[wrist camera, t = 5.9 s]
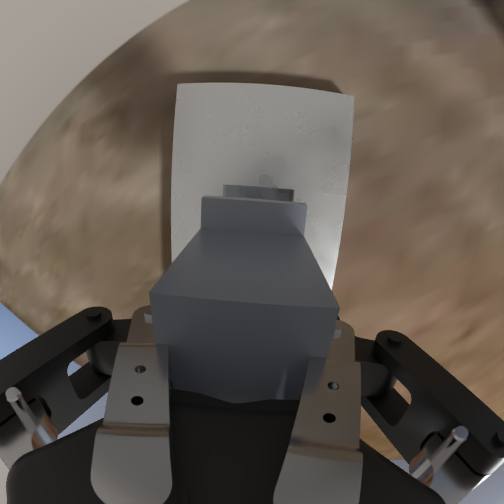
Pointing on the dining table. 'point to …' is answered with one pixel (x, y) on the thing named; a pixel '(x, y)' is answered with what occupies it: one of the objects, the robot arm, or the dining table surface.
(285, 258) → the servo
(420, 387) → the robot arm
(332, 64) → the dining table surface
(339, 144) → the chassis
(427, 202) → the dining table surface
